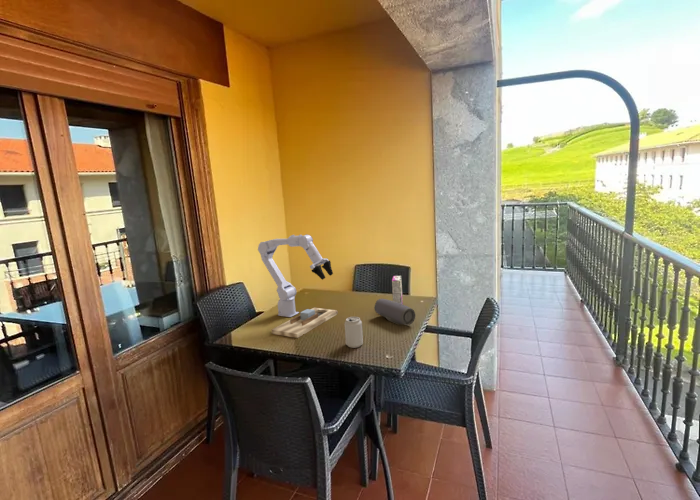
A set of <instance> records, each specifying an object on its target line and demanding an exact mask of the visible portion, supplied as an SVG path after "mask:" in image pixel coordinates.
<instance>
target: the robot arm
mask: <svg viewBox="0 0 700 500" xmlns="http://www.w3.org/2000/svg"><path fill="white" fill-rule="evenodd" d="M313 241H314V239H313V237H312V236H311V235H310V234H305V235H303V234H299V235H295V234H292V235H289V237H287V238H274V239H269V240H265V241H261V242H260V243H258V246H257V251H258V253H259V254H260V258H261V261H262V262H263V265H264V266H265V267H266V269H267V271H268V273H269V274H270V276H271V277H272V279H273V281H274V282H275V284H276V286H277V288H276V293H277V295H278V296H277V297H278V298H279V300H278V301H277V310H278V311H277V312H278V314H277V316H281V317H285V318H286V317H287V318H293V317H294V316H296V315H299V313H300V312H299V311H296V301H295V298H296V295H297V289H296V287H295V286H294V285H293V284H292V283H291V282H289V281H287V280H286V278H285V277H284V274H283V273H282V271H281V270H280V268H279V267H278V265H277V263H276V262H275V260H274V259H273V255H275V252H276V250H277V248H278V247H279V246H284V245H288V246H289V247H301V248H303V250H304V252H305V253H306V255H307V256H308V257H309V260H310V261H311V262H312V264H311V265H309V268H310V270H311V272H312V273H313V274H315V275H317V277H319V278H320V279H321V280H322V281H323V280H324V279H326V275H325V273H324V271H323V270H325V271H326V273H327V275H328V276H330V277H331V276H332V275H334V273H333V270H332V264H331V263H332V262H331V260H329V259H328V258H325V257H324V258H323V257H322V254H320V251H319V250H318V248H317V247H316V246H315V244H314V242H313ZM322 268H323V269H322Z"/></svg>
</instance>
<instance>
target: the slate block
mask: <svg viewBox="0 0 700 500" xmlns="http://www.w3.org/2000/svg"><path fill="white" fill-rule="evenodd" d="M311 309H312V308H311ZM311 309H309V308H307V309H304V310H302V311H301V312H299V313H300V314H299V315H300V316H301V320H305V319H307V318H309V317H311V316H313V315H314V314H315V310H311Z"/></svg>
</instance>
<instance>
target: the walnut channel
mask: <svg viewBox="0 0 700 500" xmlns="http://www.w3.org/2000/svg"><path fill="white" fill-rule="evenodd" d="M316 318H318V314H317V313H316V314H314V315H313V316H311V317H309V318H307V319H305V320H303V321H302V326H304V325H305V324H307V323H309V322H311V321H313V320H314V319H316ZM300 319H301V316H300V314H298V315H297V316H295V317H292V318H291V319H289V320H290V323H291V324H293V323H295V322H297V321H298V320H300Z"/></svg>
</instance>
